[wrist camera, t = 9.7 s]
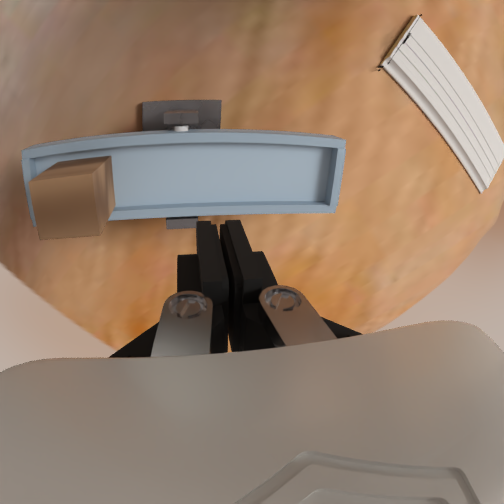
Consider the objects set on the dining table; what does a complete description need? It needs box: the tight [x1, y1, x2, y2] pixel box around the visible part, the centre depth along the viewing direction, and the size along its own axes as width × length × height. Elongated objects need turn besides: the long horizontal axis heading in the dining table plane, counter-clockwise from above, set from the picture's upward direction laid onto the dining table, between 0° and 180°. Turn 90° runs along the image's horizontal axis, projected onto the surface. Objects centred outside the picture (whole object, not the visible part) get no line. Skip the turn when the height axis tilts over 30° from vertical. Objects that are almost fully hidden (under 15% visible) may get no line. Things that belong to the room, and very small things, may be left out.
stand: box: [143, 100, 221, 229], centre depth 28 cm, size 12×28×8 cm, turn 87°
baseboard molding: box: [378, 14, 504, 194], centre depth 35 cm, size 31×3×12 cm
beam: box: [21, 125, 346, 227], centre depth 25 cm, size 8×28×3 cm, turn 87°
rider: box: [29, 156, 116, 240], centre depth 21 cm, size 4×5×6 cm
